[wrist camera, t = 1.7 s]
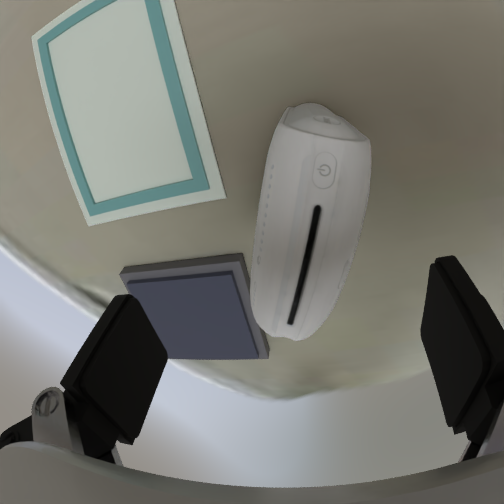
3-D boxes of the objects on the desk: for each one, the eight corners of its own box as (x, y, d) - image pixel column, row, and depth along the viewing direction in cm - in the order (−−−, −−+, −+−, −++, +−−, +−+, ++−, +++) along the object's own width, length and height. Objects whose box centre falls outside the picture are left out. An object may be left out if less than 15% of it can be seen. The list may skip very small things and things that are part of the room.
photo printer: (283, 96, 19) (261, 115, 8) (346, 107, 18) (403, 144, 8) (265, 229, 24) (234, 354, 14) (319, 239, 24) (325, 368, 14)
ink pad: (242, 253, 26) (238, 265, 24) (269, 350, 31) (267, 363, 30) (124, 267, 28) (116, 277, 27) (169, 351, 34) (164, 362, 33)
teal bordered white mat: (164, -41, 13) (161, -43, 13) (226, 197, 23) (225, 199, 23) (32, 36, 17) (29, 37, 16) (89, 225, 27) (86, 227, 26)
